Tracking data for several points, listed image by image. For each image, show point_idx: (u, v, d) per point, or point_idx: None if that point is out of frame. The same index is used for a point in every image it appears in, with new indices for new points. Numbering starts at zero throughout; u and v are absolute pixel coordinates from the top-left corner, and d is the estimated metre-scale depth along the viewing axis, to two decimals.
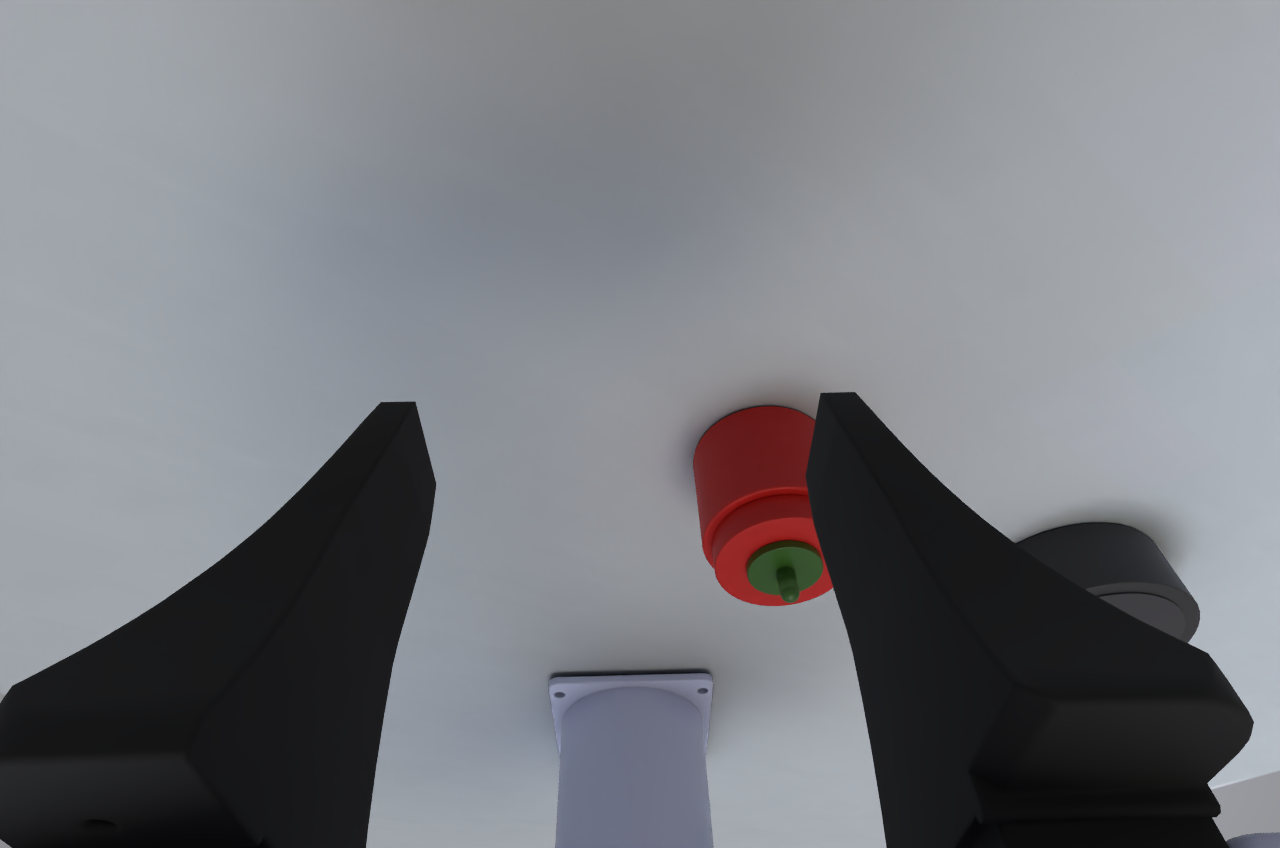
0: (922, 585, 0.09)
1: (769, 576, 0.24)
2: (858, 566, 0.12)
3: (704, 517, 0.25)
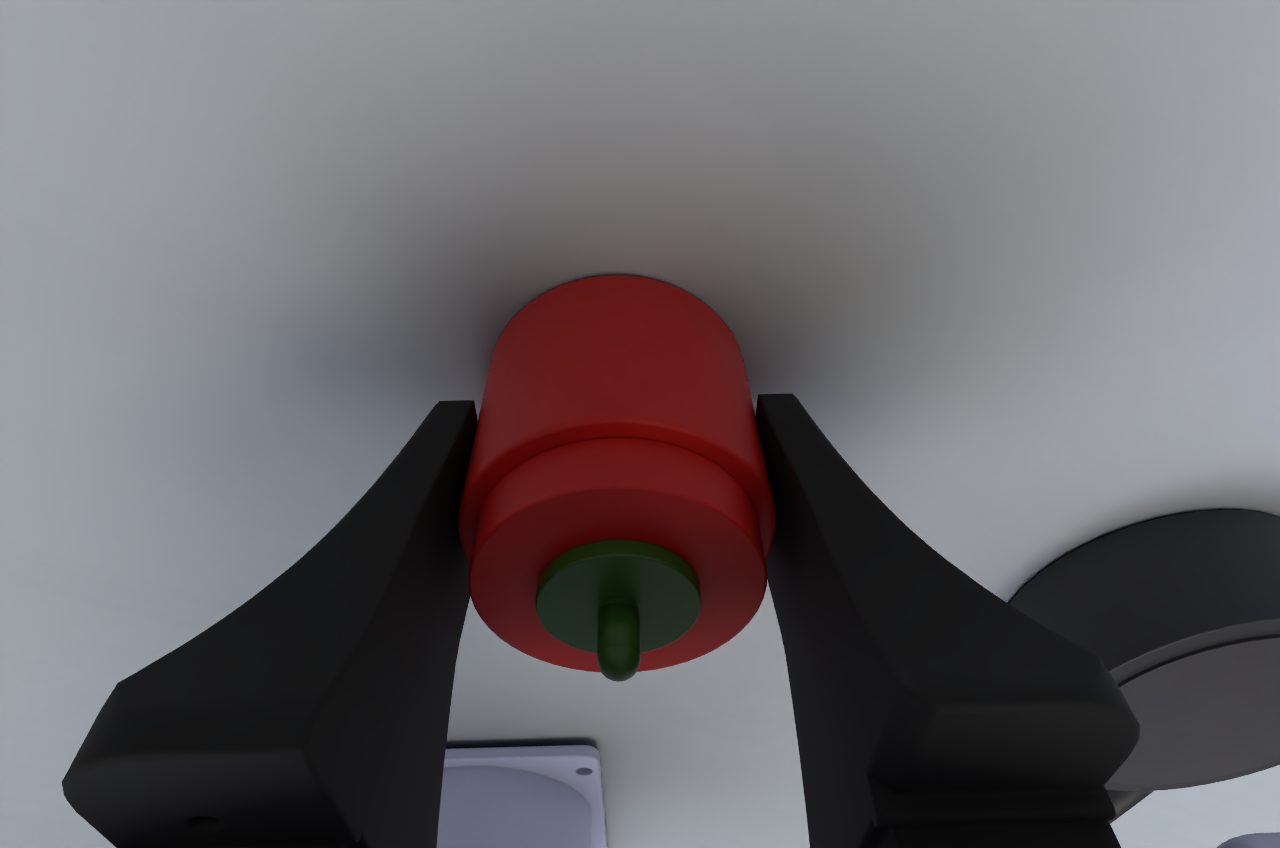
0: (833, 587, 0.09)
1: (586, 617, 0.11)
2: (788, 568, 0.12)
3: None
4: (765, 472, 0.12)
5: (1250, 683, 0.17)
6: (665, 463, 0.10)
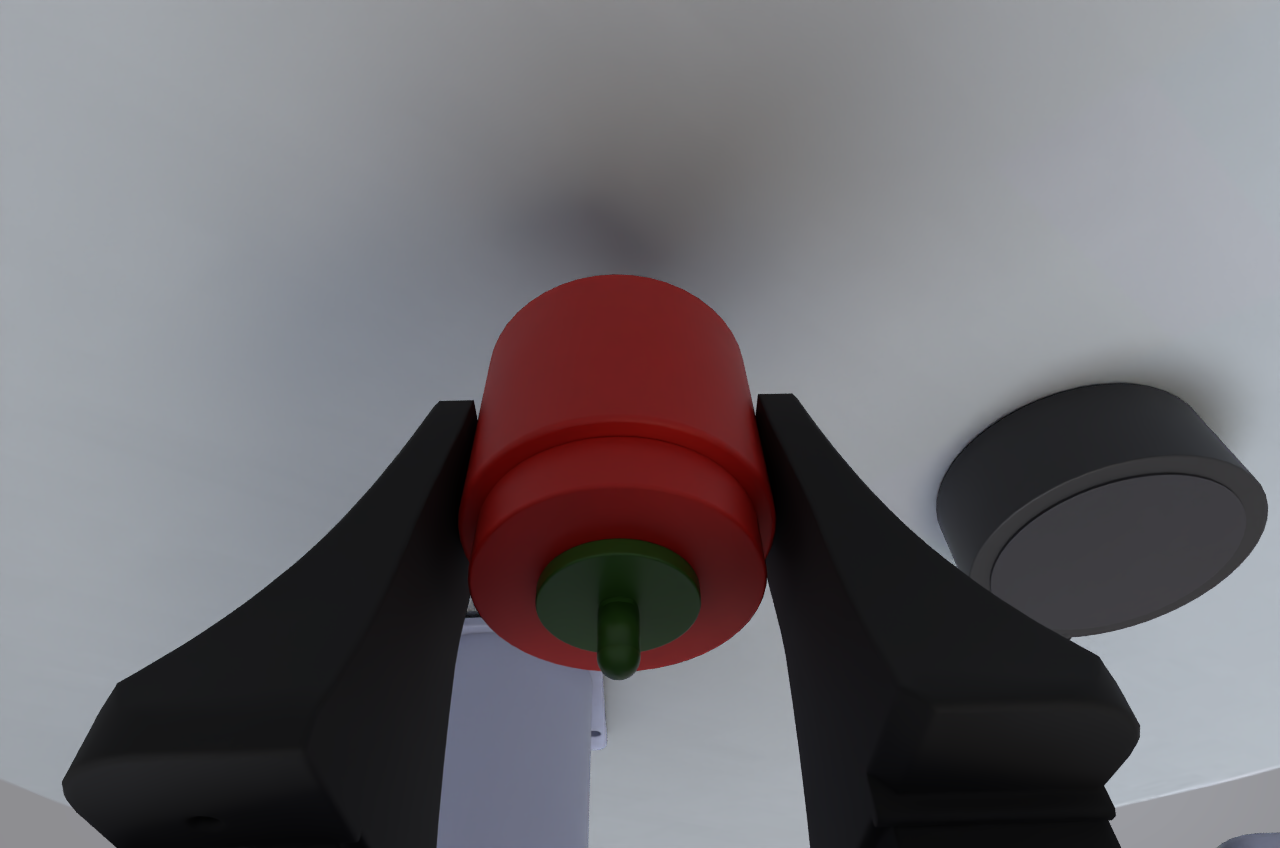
0: (832, 587, 0.09)
1: (585, 616, 0.11)
2: (788, 568, 0.12)
3: None
4: (765, 471, 0.12)
5: (1135, 522, 0.21)
6: (665, 462, 0.10)
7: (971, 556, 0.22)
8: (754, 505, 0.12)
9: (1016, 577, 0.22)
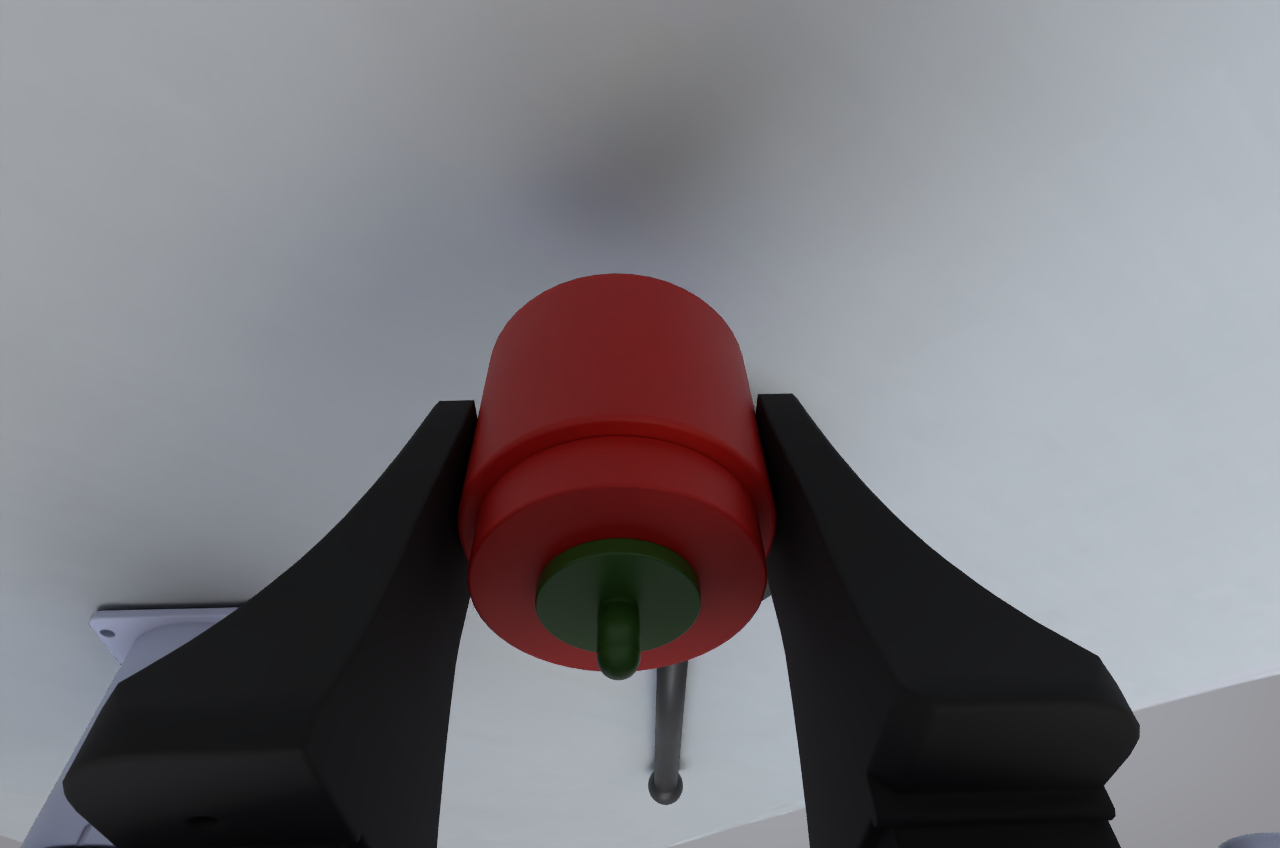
0: (833, 586, 0.09)
1: (585, 616, 0.11)
2: (788, 568, 0.12)
3: (462, 490, 0.12)
4: (765, 471, 0.12)
5: None
6: (665, 461, 0.10)
7: None
8: (754, 504, 0.12)
9: None
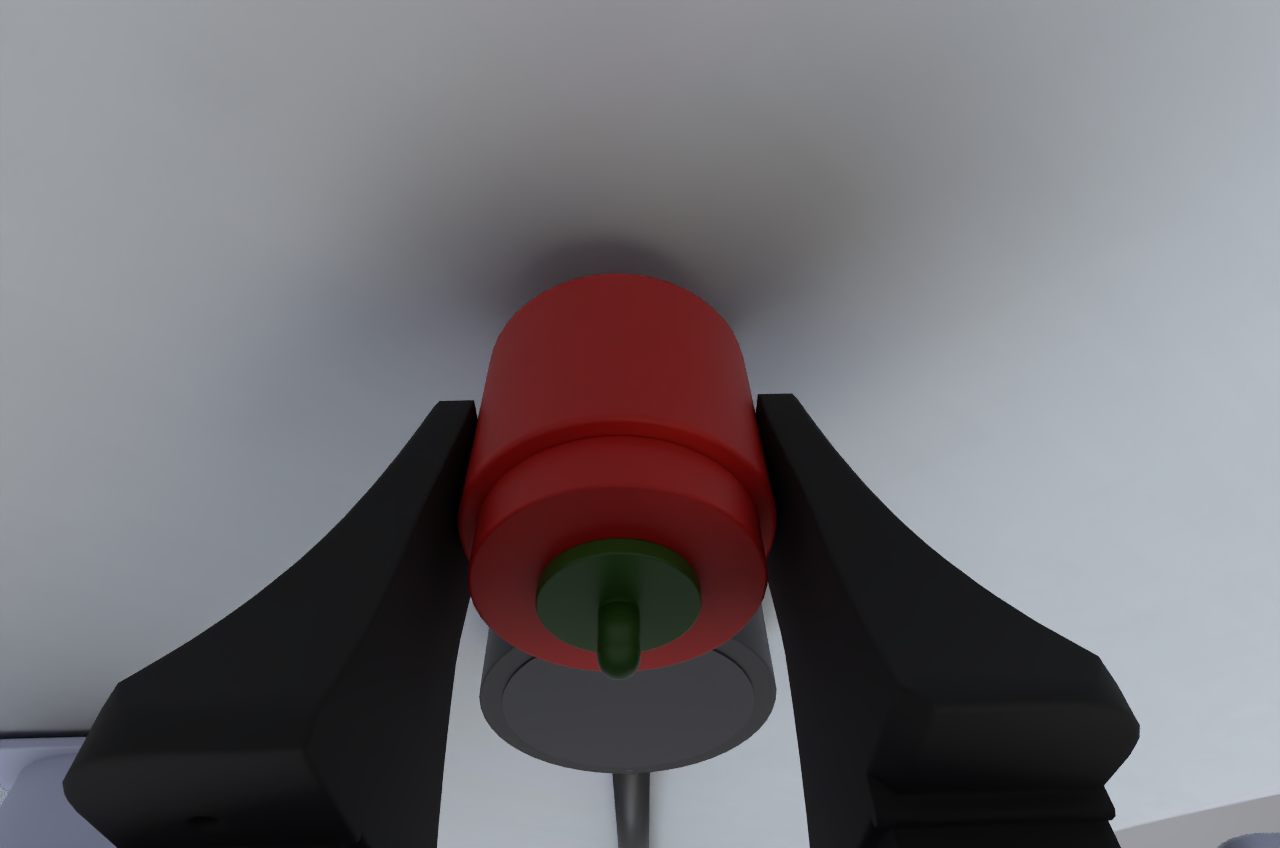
0: (832, 587, 0.09)
1: (586, 616, 0.11)
2: (787, 568, 0.12)
3: (463, 490, 0.12)
4: (765, 470, 0.12)
5: None
6: (665, 461, 0.10)
7: None
8: (755, 504, 0.12)
9: (535, 723, 0.21)
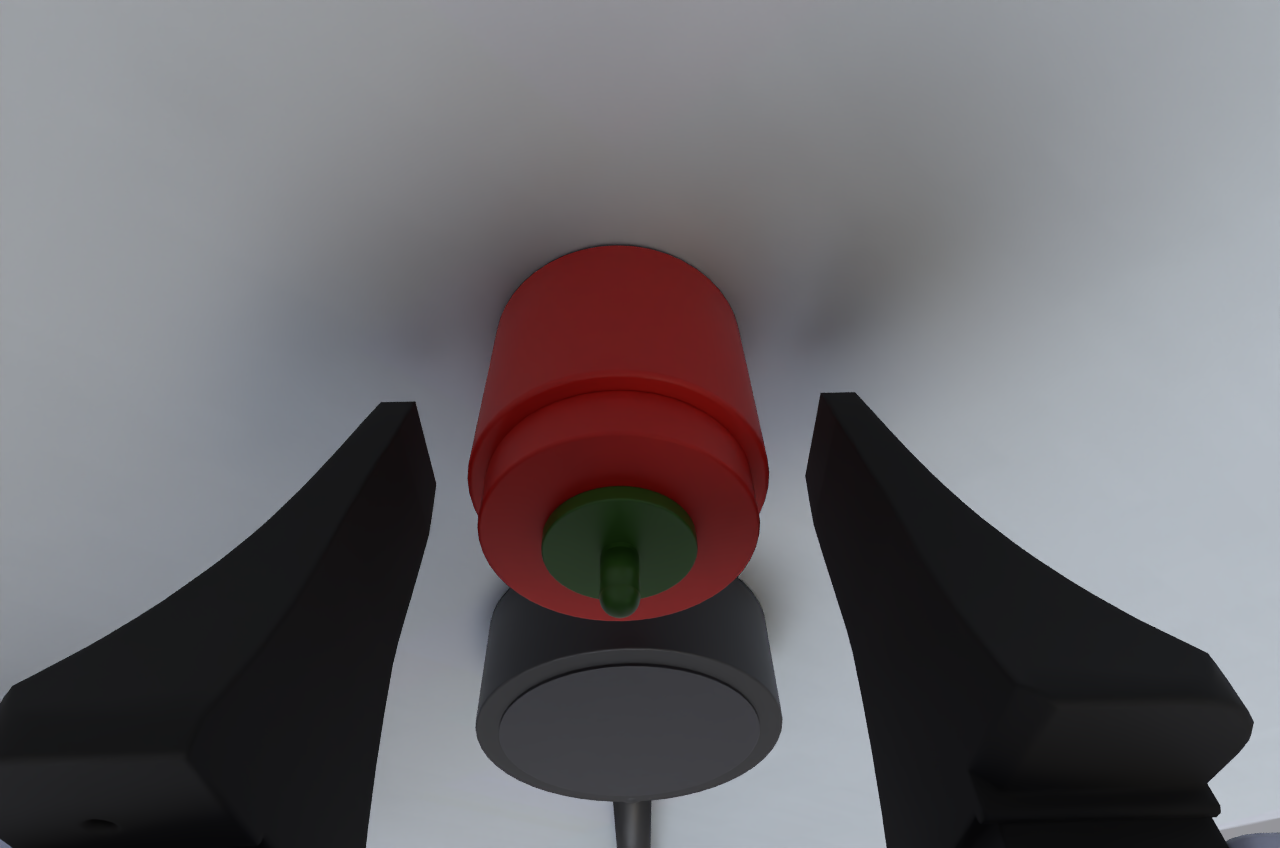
0: (922, 585, 0.09)
1: (588, 562, 0.12)
2: (858, 566, 0.12)
3: (472, 447, 0.13)
4: (758, 428, 0.12)
5: (626, 706, 0.19)
6: (663, 413, 0.11)
7: None
8: (748, 459, 0.12)
9: (533, 753, 0.20)
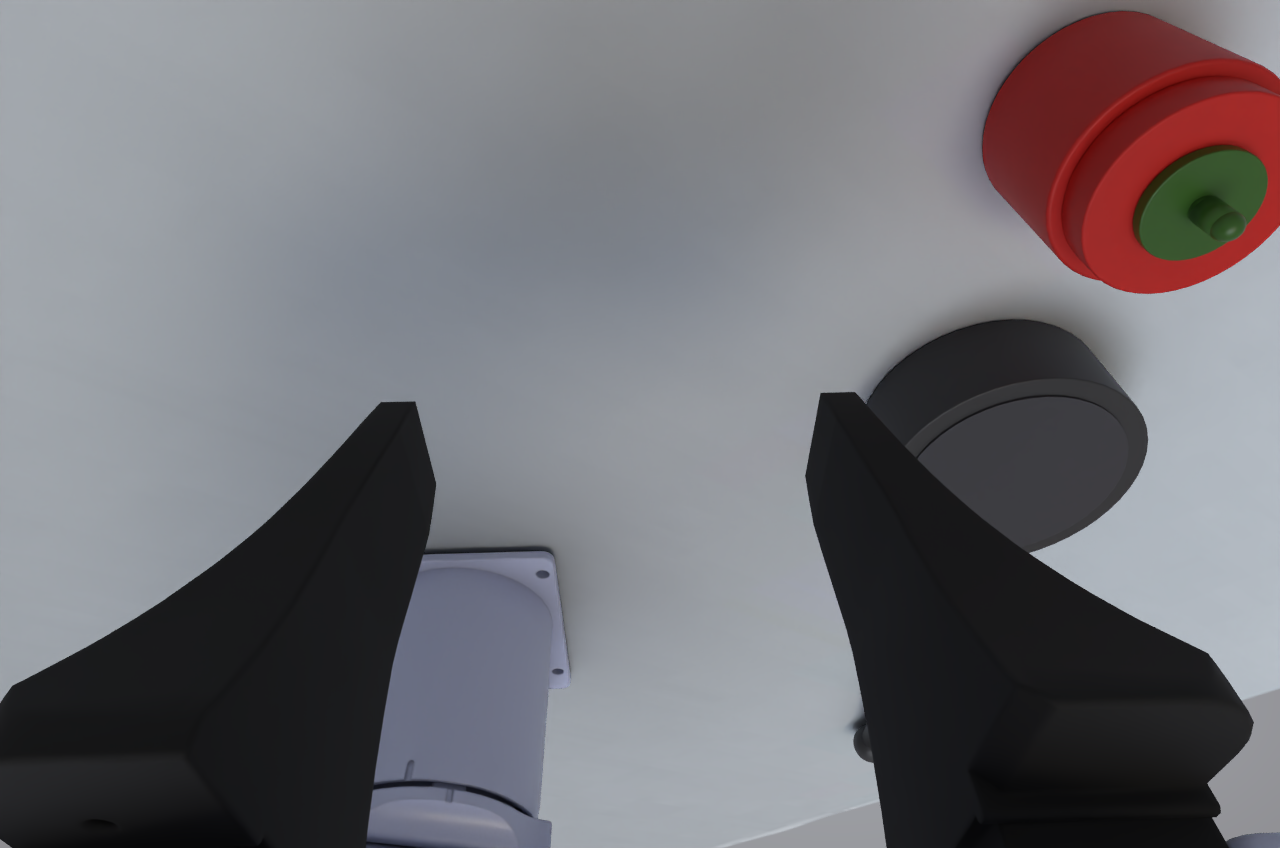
0: (922, 585, 0.09)
1: (1175, 217, 0.16)
2: (858, 566, 0.12)
3: (1053, 148, 0.17)
4: None
5: (1026, 444, 0.23)
6: (1262, 87, 0.15)
7: None
8: None
9: None
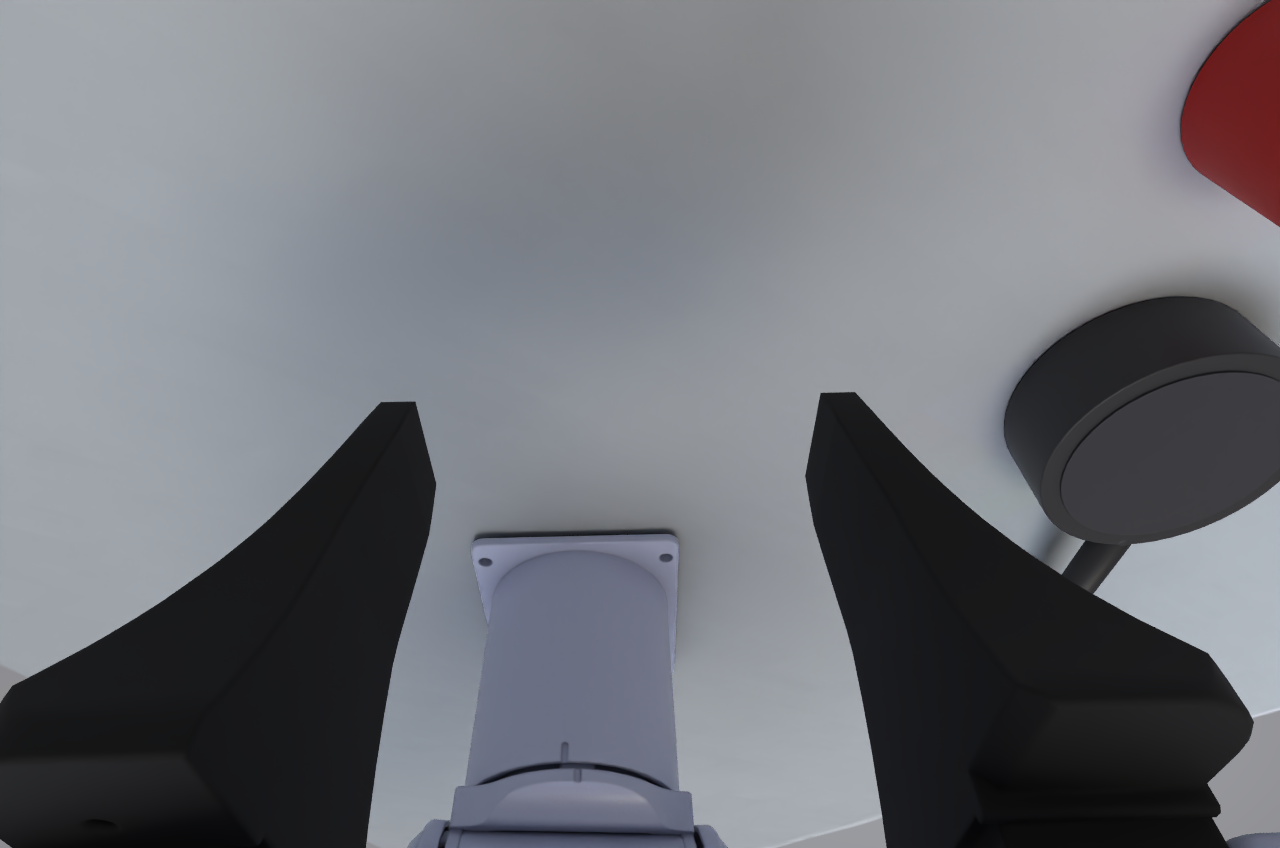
0: (922, 584, 0.09)
1: None
2: (858, 566, 0.12)
3: None
4: None
5: (1200, 421, 0.22)
6: None
7: (1044, 458, 0.24)
8: None
9: (1085, 478, 0.24)
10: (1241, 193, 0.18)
